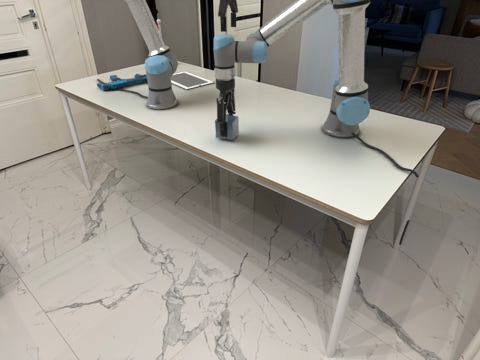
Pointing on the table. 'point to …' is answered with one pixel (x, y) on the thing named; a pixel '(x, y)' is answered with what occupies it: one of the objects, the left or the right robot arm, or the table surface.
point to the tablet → (188, 80)
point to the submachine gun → (122, 82)
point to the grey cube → (229, 127)
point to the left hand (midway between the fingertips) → (228, 29)
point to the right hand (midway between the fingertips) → (227, 132)
